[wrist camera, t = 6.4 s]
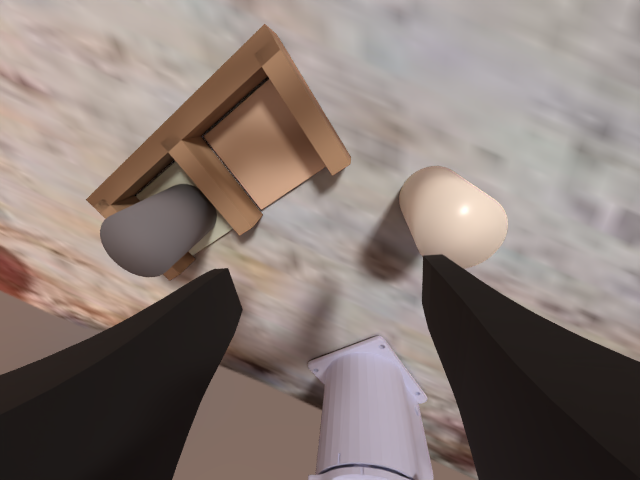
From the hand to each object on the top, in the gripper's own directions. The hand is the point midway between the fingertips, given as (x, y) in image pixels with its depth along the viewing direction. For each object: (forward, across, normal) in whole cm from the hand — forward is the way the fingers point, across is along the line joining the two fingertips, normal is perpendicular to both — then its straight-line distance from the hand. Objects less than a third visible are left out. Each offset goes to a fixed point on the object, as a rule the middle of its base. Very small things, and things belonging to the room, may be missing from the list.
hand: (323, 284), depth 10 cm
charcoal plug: (+9, +11, -1) cm, 14 cm away
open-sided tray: (+9, +8, -2) cm, 12 cm away
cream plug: (+9, -6, 0) cm, 11 cm away
